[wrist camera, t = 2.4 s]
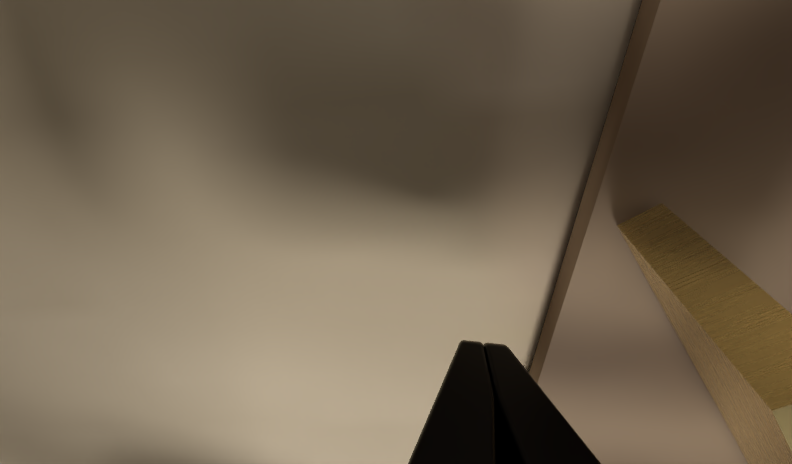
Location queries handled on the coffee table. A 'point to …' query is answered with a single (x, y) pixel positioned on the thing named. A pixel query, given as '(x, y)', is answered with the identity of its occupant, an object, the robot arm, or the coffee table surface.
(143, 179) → the coffee table surface
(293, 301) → the coffee table surface
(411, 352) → the coffee table surface
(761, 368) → the block
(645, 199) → the hinge board
